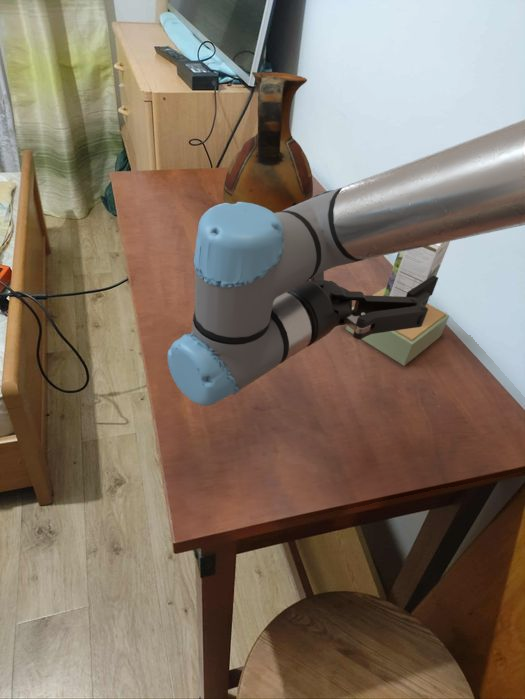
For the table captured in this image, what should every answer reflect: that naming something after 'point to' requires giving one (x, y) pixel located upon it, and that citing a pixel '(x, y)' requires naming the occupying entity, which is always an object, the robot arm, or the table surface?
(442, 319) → the stand
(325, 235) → the robot arm
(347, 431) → the table surface
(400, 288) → the syrup box
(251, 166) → the ceramic pitcher
